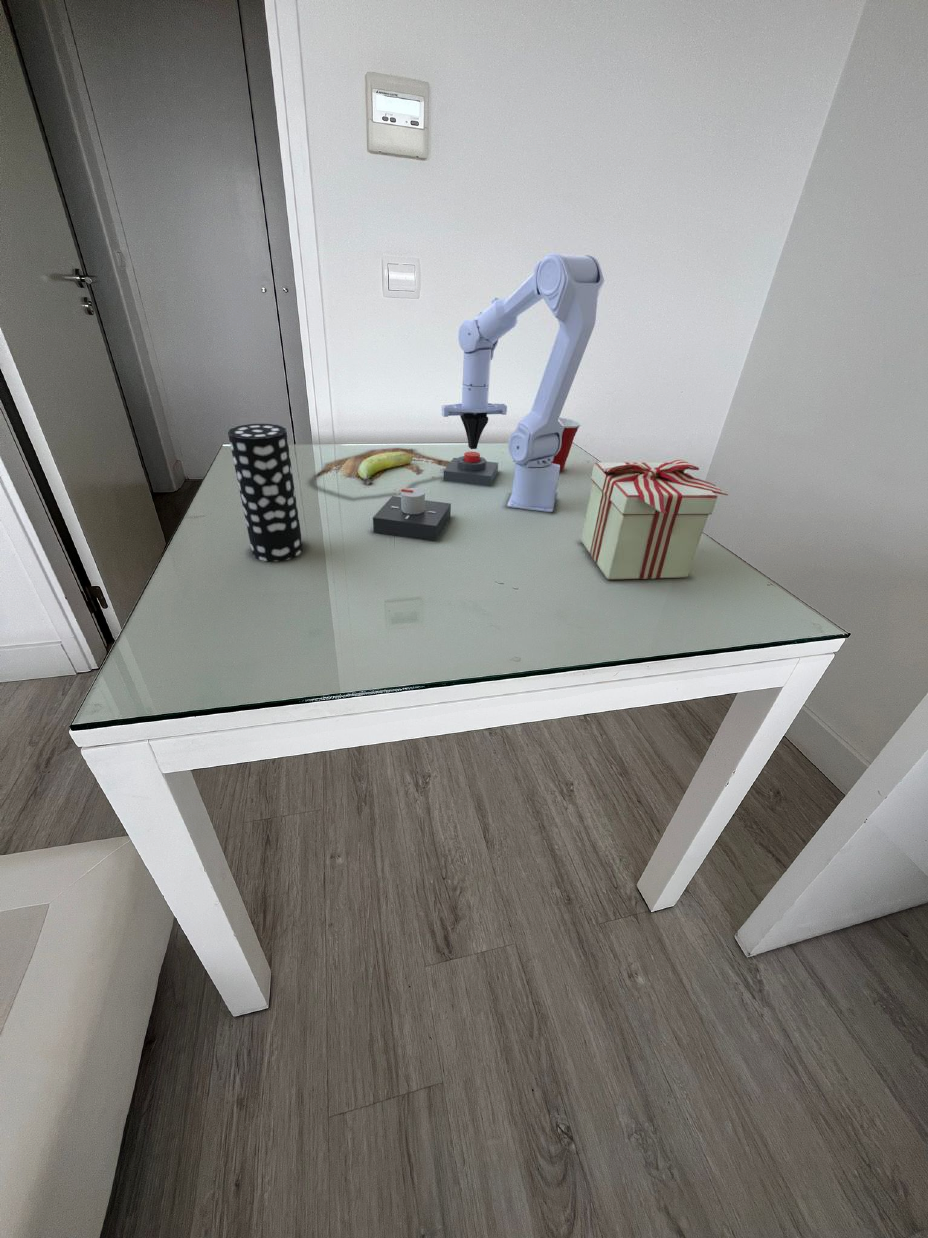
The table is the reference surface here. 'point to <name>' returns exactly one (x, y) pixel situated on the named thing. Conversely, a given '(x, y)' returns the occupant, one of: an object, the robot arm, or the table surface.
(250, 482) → the spotted tube
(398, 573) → the table surface
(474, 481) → the switch block
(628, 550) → the gift box
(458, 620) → the table surface
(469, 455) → the power button
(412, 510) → the timer knob
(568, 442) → the plastic cup
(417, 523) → the timer panel
